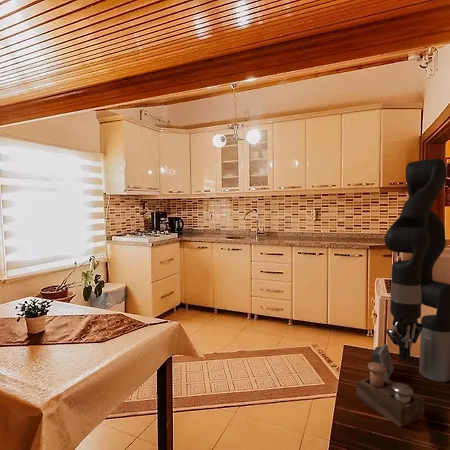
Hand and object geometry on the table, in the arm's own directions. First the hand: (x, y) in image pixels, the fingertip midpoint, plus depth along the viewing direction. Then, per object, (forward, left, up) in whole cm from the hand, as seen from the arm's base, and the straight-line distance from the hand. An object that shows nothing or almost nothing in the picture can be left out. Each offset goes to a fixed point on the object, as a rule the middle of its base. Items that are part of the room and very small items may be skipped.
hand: (404, 358), depth 91 cm
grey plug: (0, 0, -16) cm, 16 cm away
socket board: (0, -5, -17) cm, 17 cm away
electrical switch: (-15, -19, -17) cm, 29 cm away
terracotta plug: (0, -9, -14) cm, 16 cm away
